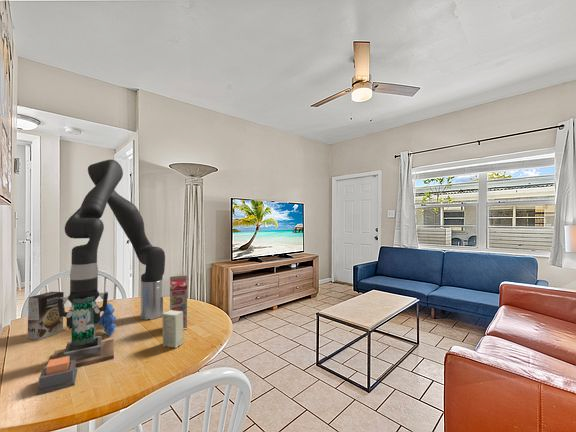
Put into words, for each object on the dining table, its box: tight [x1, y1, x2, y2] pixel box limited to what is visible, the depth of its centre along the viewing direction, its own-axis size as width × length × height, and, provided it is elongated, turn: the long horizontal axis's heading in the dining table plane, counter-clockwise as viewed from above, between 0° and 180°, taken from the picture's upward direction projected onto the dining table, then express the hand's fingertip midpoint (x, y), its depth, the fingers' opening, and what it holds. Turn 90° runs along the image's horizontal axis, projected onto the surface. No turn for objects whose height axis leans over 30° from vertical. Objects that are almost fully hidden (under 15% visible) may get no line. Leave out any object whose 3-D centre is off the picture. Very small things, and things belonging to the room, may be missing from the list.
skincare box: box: [161, 309, 185, 348], centre depth 102 cm, size 6×4×12 cm
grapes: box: [97, 302, 117, 336], centre depth 110 cm, size 12×7×12 cm, turn 46°
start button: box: [46, 356, 70, 375], centre depth 79 cm, size 5×5×3 cm
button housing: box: [36, 359, 78, 395], centre depth 78 cm, size 8×8×4 cm
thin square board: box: [50, 335, 115, 369], centre depth 93 cm, size 17×14×4 cm
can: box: [71, 296, 97, 345], centre depth 93 cm, size 6×6×15 cm
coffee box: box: [26, 291, 65, 341], centre depth 110 cm, size 9×6×16 cm
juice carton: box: [169, 275, 188, 328], centre depth 118 cm, size 7×7×22 cm
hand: (83, 325), depth 93 cm, fingers closed on can, 6 cm apart
